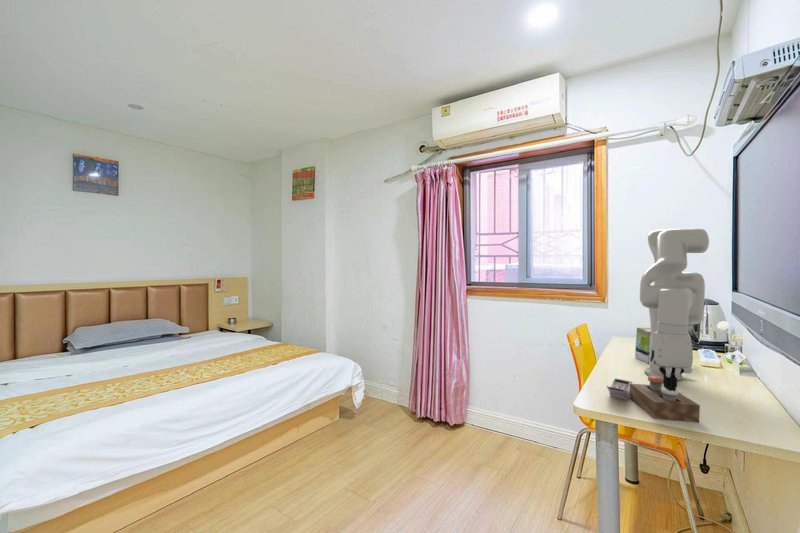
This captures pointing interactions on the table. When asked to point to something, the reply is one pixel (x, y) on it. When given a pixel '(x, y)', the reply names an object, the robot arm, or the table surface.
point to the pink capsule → (655, 382)
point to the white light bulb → (669, 394)
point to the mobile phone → (620, 388)
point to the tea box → (643, 344)
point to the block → (664, 404)
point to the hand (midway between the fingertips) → (669, 389)
